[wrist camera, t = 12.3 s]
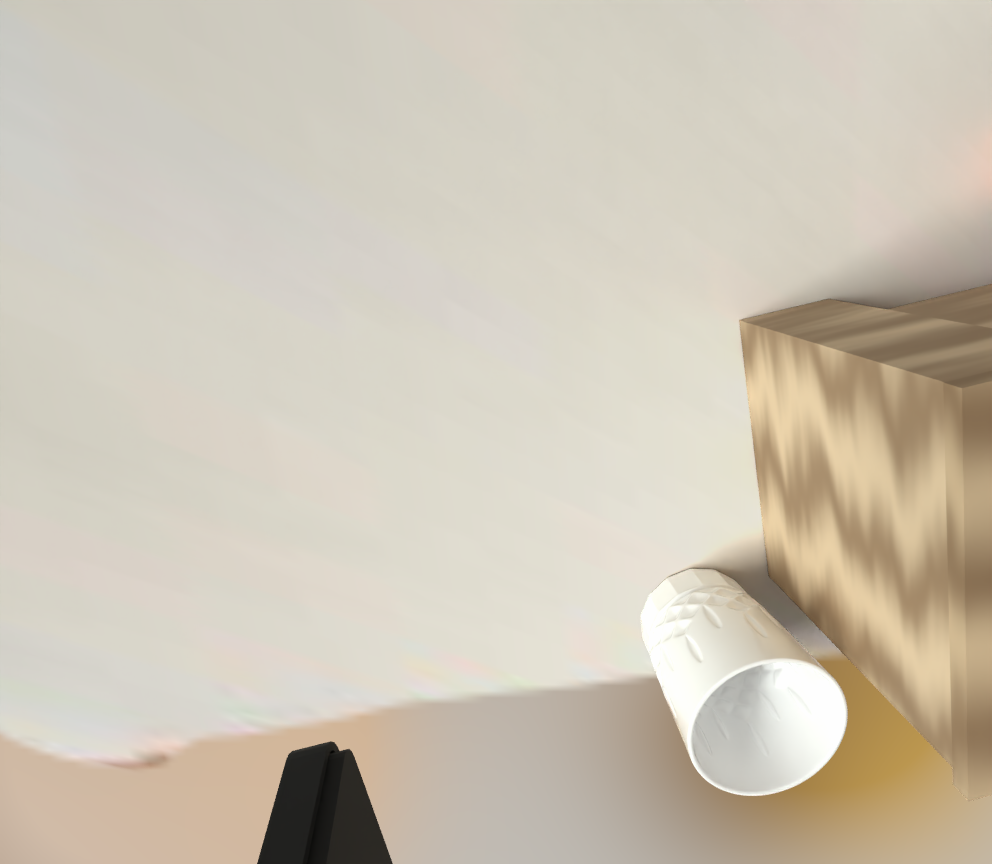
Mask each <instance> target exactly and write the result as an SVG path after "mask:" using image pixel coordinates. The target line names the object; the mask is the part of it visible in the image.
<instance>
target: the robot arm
mask: <svg viewBox="0 0 992 864" xmlns="http://www.w3.org/2000/svg"><path fill="white" fill-rule="evenodd" d="M257 864H392V861H391V858H390V855H389V852H388V850H387V847H386V844H385V841H384V839H383V835H382V833H381V830H380V827H379V824H378V822H377V819H376V816H375V813H374V811H373V808H372V805H371V802H370V799H369V796H368V794H367V791H366V788H365V785H364V783H363V780H362V777H361V774H360V771H359V769H358V766H357V763H356V760H355V757H354V755H353V753H352V751H351V750H350V749H347V750H343V751H339V749H338V747H337V746H336V744H335V743H334V742H327V743H323V744H319V745H315V746H311V747H307V748H303V749H299V750H295V751H292V752H291V753H290V754H289V755H288V758H287V760H286V763H285V767H284V770H283V774H282V777H281V781H280V784H279V788H278V791H277V795H276V799H275V802H274V806H273V809H272V813H271V816H270V820H269V824H268V828H267V831H266V834H265V838H264V842H263V845H262V849H261V852H260V856H259V859H258V863H257Z"/></svg>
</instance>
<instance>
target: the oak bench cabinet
mask: <svg viewBox="0 0 992 864" xmlns="http://www.w3.org/2000/svg"><path fill="white" fill-rule="evenodd" d="M739 322H740V331H741V340H742V348H743V357H744V366H745V374H746V383H747V392H748V401H749V409H750V418H751V427H752V435H753V444H754V453H755V461H756V470H757V479H758V487H759V496H760V505H761V514H762V522H763V531H764V540H765V548H766V557H767V566H768V574H769V577H770V578H771V579H772V580H773V581H774V582H775V583H776V584H777V585H778V586H779V587H780V588H781V589H782V590H783V591H784V592H785V593H786V594H787V596H788V597H789V598H790V599H791V600H792V601H793V602H794V603H795V604H796V605H797V606H798V607H799V608H800V609H801V610H802V611H803V612H804V613H805V614H806V615H807V616H808V617H809V618H810V619H811V621H812V622H813V623H814V624H815V625H816V626H817V627H818V628H819V629H820V630H821V631H822V632H823V633H824V634H825V635H826V636H827V637H828V638H829V639H830V640H831V641H832V642H833V643H834V644H835V646H836V647H837V648H838V649H839V650H840V651H841V652H842V653H843V654H844V655H845V656H846V657H847V658H848V659H849V660H850V661H851V662H852V663H853V664H854V665H855V666H856V667H857V668H858V669H859V671H860V672H861V673H862V674H863V675H864V676H865V677H866V678H867V679H868V680H869V681H870V682H871V683H872V684H873V685H874V686H875V687H876V688H877V689H878V690H879V691H880V692H881V693H882V694H883V695H884V696H885V698H886V699H887V700H888V701H889V702H890V703H891V704H892V705H893V706H894V707H895V708H896V709H897V710H898V711H899V712H900V713H901V714H902V715H903V716H904V717H905V718H906V719H907V720H908V722H910V724H911V725H912V726H913V727H914V728H915V729H916V730H917V731H918V732H919V733H920V734H921V735H922V736H923V737H924V738H925V739H926V740H927V741H928V742H929V743H930V744H931V745H932V746H933V748H935V750H936V751H937V752H938V753H939V754H940V755H941V756H942V757H943V758H944V759H945V760H946V761H947V762H948V763H949V764H950V765H951V766H952V767H953V785H954V786H955V787H956V788H957V789H958V790H959V792H960V793H961V794H962V795H963V796H964V797H965V798H966V799H967V800H968V801H971V800H974V799H979V798H983V797H987V796H991V795H992V284H990V285H986V286H982V287H977V288H973V289H969V290H965V291H961V292H957V293H952V294H948V295H944V296H940V297H936V298H932V299H928V300H923V301H919V302H915V303H911V304H907V305H903V306H899V307H894V308H890V309H882V308H876V307H871V306H865V305H860V304H854V303H848V302H843V301H837V300H832V299H826V300H821V301H817V302H813V303H809V304H805V305H801V306H797V307H792V308H788V309H784V310H780V311H776V312H772V313H767V314H763V315H759V316H755V317H751V318H747V319H742V320H739Z"/></svg>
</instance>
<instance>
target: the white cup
mask: <svg viewBox="0 0 992 864" xmlns="http://www.w3.org/2000/svg"><path fill="white" fill-rule="evenodd" d="M640 617H641V628H642V638H643V640H644V643H645V645H646V647H647V649H648V652H649V654H650V656H651V660H652V663H653V667H654V670H655V673H656V675H657V678H658V680H659V682H660V685H661V688H662V691H663V693H664V696H665V698H666V701H667V703H668V705H669V708H670V710H671V712H672V715H673V717H674V720H675V722H676V724H677V727H678V729H679V731H680V734H681V736H682V739H683V741H684V743H685V746H686V748H687V751H688V753H689V756H690V758H691V760H692V762H693V765H694V766H695V768H696V769H697V771H698V772H699V773H700V775H701V776H702V777H703V778H704V779H705V780H707V781H708V782H709V783H710V784H712V785H714V786H715V787H717V788H719V789H721V790H724V791H726V792H729V793H733V794H738V795H745V796H759V795H767V794H773V793H777V792H781V791H783V790H787V789H789V788H792V787H794V786H796V785H798V784H800V783H802V782H803V781H805V780H807V779H808V778H810V777H811V776H812V775H814V774H815V773H817V772H818V771H819V770H820V769H821V768H822V767H823V766H824V765H825V764H826V763H827V762H828V761H829V760H830V758H831V757H832V756H833V754H834V753H835V752H836V750H837V748H838V747H839V745H840V743H841V741H842V738H843V736H844V733H845V729H846V725H847V716H848V712H847V703H846V699H845V696H844V693H843V691H842V689H841V687H840V686H839V684H838V683H837V681H836V680H835V679H834V678H833V677H832V676H831V675H830V674H829V673H828V672H827V671H826V670H825V669H824V668H823V667H822V666H821V665H820V664H819V663H818V662H817V661H816V660H815V659H814V658H813V656H812V655H811V654H810V653H809V652H808V651H807V650H806V649H805V648H804V647H803V646H802V645H801V644H800V643H799V642H798V641H797V640H796V639H795V638H794V637H793V636H792V635H791V634H790V633H789V632H788V631H787V630H786V629H785V628H784V627H783V626H782V625H781V624H780V623H779V622H778V621H777V620H776V619H775V618H774V617H773V616H771V615H770V614H769V612H768V611H767V610H766V609H765V608H764V607H763V606H761V605H760V604H759V603H758V602H757V601H755V600H754V599H753V598H752V597H750V596H749V595H748V594H747V593H746V592H745V590H744V589H743V588H742V587H741V586H740V585H739V584H738V583H737V582H736V581H735V580H733V579H732V578H730V577H728V576H726V575H724V574H722V573H720V572H718V571H716V570H714V569H688V570H686V571H683V572H680V573H678V574H675V575H673V576H670V577H668V578H666V579H665V580H664V581H663V582H662V583H661V584H660V585H659V586H658V587H657V588H656V589H655V590H653V591H652V592H651V593H650V594H649V596H648V599H647V601H646V604H645V606H644V608H643V611H642V613H641V616H640Z"/></svg>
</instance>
